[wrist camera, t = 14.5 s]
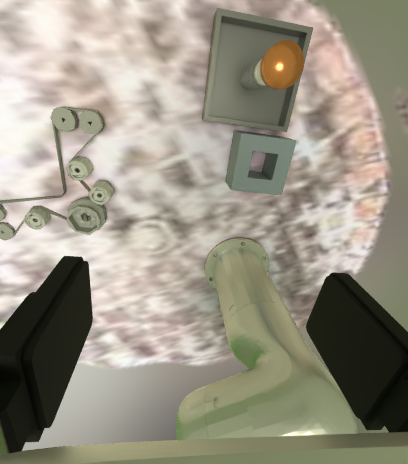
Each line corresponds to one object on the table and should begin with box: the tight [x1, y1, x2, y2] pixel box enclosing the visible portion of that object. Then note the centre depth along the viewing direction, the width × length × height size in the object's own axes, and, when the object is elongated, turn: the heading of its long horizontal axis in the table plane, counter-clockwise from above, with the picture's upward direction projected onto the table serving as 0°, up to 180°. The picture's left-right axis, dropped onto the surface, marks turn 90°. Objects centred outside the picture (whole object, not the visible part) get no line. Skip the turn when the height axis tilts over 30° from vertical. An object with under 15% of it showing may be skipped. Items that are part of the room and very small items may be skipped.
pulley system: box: [0, 107, 114, 240], centre depth 40 cm, size 27×5×15 cm
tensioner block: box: [226, 130, 296, 195], centre depth 39 cm, size 8×8×5 cm
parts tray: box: [202, 8, 313, 132], centre depth 34 cm, size 12×12×3 cm
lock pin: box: [241, 40, 304, 91], centre depth 30 cm, size 4×4×12 cm
